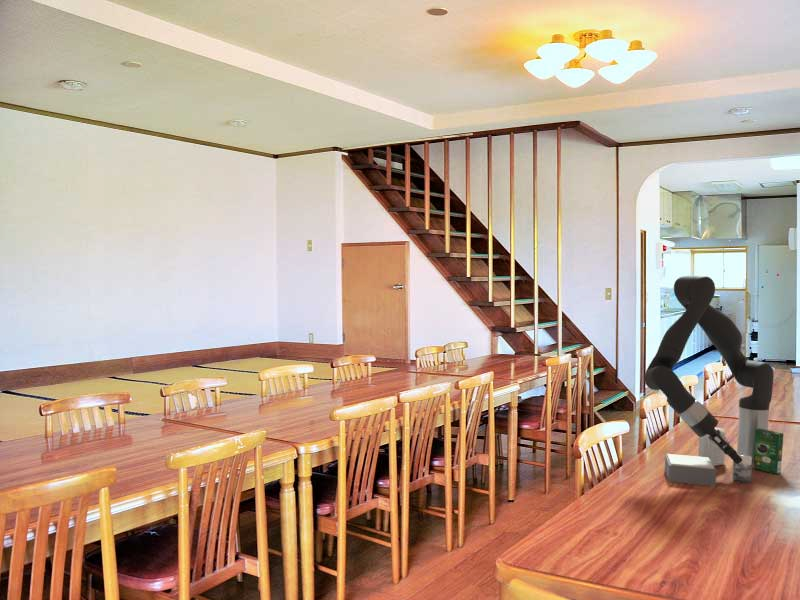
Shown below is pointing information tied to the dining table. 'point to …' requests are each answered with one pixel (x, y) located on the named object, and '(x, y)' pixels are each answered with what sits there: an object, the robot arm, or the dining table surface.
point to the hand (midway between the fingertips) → (737, 458)
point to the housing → (742, 469)
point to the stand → (690, 469)
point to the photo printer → (711, 449)
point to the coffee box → (768, 451)
